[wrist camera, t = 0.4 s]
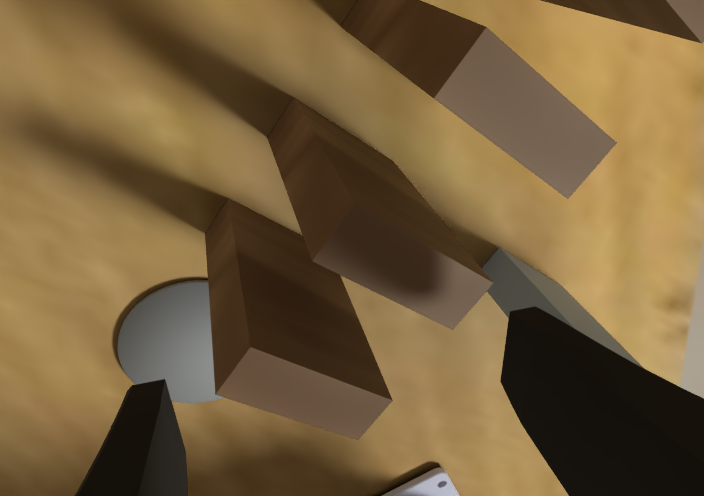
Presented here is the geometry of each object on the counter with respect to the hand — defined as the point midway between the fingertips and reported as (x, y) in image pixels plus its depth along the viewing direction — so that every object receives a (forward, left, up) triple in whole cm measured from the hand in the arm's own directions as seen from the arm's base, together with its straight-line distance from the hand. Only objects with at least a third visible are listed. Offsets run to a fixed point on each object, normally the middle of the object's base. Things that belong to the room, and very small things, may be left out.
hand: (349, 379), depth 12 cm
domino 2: (0, -2, -10) cm, 10 cm away
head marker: (-4, +6, -10) cm, 12 cm away
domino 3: (-2, +1, -10) cm, 10 cm away
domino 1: (+2, -6, -10) cm, 12 cm away
